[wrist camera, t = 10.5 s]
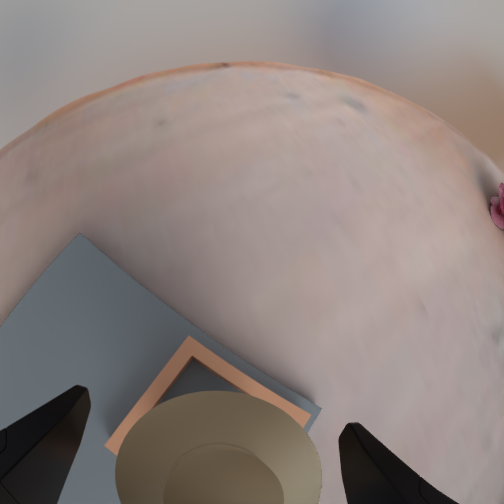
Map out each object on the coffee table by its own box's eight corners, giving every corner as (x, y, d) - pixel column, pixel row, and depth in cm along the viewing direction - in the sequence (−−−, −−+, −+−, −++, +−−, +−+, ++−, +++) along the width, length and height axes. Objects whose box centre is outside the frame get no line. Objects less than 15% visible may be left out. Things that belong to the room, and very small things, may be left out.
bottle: (266, 446, 15) (378, 507, 5) (194, 487, 13) (195, 608, 3) (220, 379, 17) (261, 343, 6) (147, 418, 15) (58, 447, 4)
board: (316, 408, 18) (331, 408, 16) (168, 590, 9) (166, 607, 7) (83, 239, 20) (73, 221, 18) (-41, 407, 12) (-61, 404, 10)
